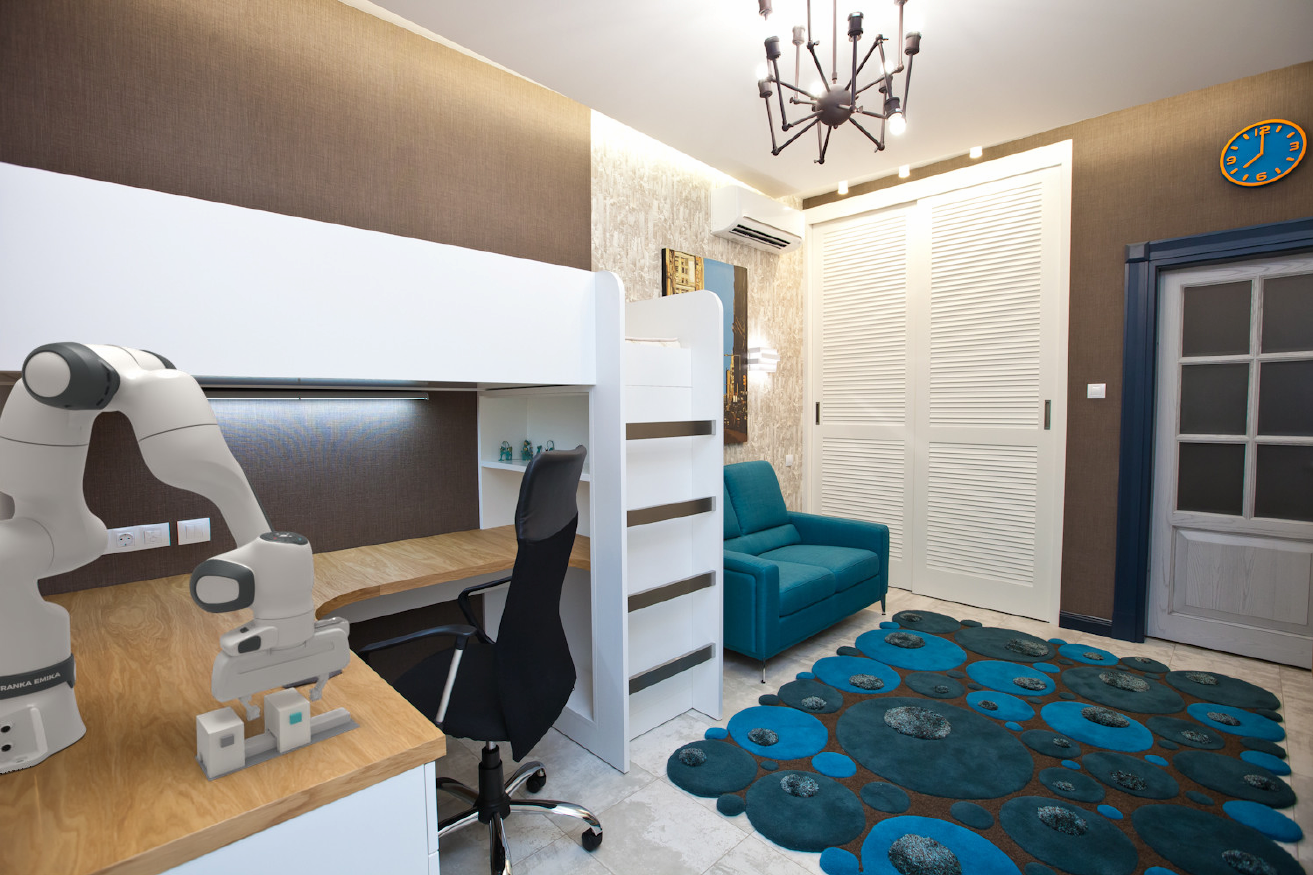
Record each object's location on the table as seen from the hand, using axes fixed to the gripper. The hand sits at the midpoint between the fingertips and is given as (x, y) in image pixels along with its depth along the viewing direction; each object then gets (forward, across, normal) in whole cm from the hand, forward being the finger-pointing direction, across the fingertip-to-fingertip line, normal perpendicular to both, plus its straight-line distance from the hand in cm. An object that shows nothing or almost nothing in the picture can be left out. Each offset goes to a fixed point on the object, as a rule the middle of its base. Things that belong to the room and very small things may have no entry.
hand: (285, 708), depth 103 cm
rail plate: (+6, +1, 0) cm, 6 cm away
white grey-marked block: (+5, +9, 0) cm, 11 cm away
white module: (+5, 0, 0) cm, 5 cm away
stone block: (+7, -12, -27) cm, 31 cm away
